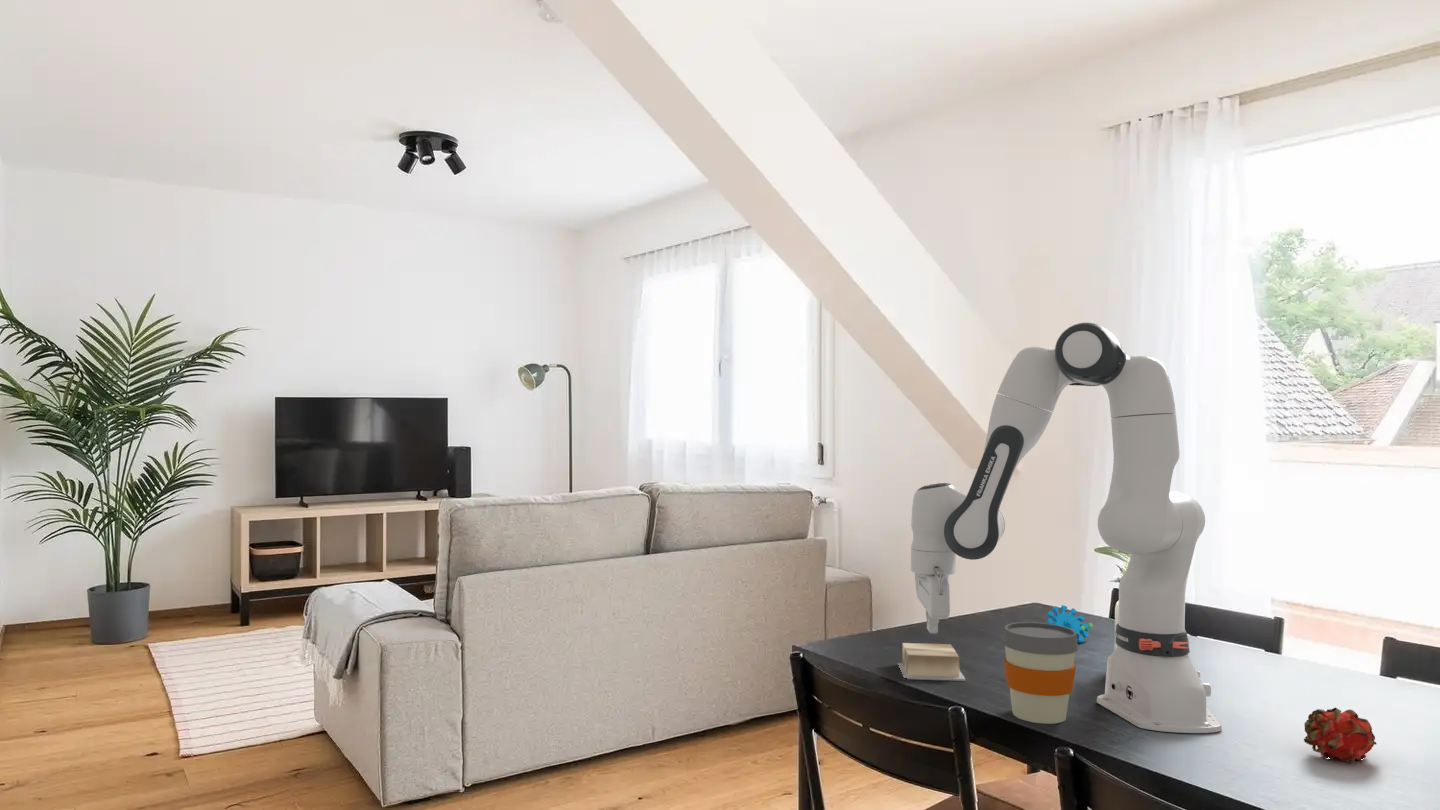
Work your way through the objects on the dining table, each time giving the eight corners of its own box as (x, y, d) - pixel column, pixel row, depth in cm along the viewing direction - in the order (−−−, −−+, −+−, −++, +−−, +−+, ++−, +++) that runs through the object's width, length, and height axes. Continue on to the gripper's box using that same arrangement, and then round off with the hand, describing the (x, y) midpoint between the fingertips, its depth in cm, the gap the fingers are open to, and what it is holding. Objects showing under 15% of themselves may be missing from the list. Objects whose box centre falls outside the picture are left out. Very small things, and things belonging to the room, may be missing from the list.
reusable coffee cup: (995, 719, 165) (996, 632, 165) (1009, 700, 176) (1010, 619, 176) (1071, 731, 159) (1072, 642, 159) (1081, 711, 170) (1082, 627, 170)
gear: (1053, 637, 218) (1045, 600, 226) (1043, 651, 223) (1035, 614, 230) (1099, 644, 219) (1089, 607, 226) (1088, 657, 223) (1079, 620, 231)
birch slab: (950, 663, 200) (959, 676, 190) (902, 661, 200) (908, 675, 190) (950, 644, 200) (959, 656, 190) (902, 642, 200) (908, 655, 190)
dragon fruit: (1299, 768, 148) (1363, 775, 151) (1340, 752, 142) (1407, 759, 144) (1280, 714, 153) (1343, 721, 156) (1319, 696, 147) (1384, 704, 149)
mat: (965, 680, 188) (965, 678, 188) (904, 678, 189) (904, 676, 189) (955, 666, 199) (955, 664, 199) (897, 664, 200) (897, 662, 200)
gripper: (958, 572, 182) (957, 645, 182) (940, 556, 203) (939, 621, 203) (925, 571, 183) (924, 644, 183) (910, 555, 203) (909, 620, 203)
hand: (932, 631), depth 193 cm, fingers closed
